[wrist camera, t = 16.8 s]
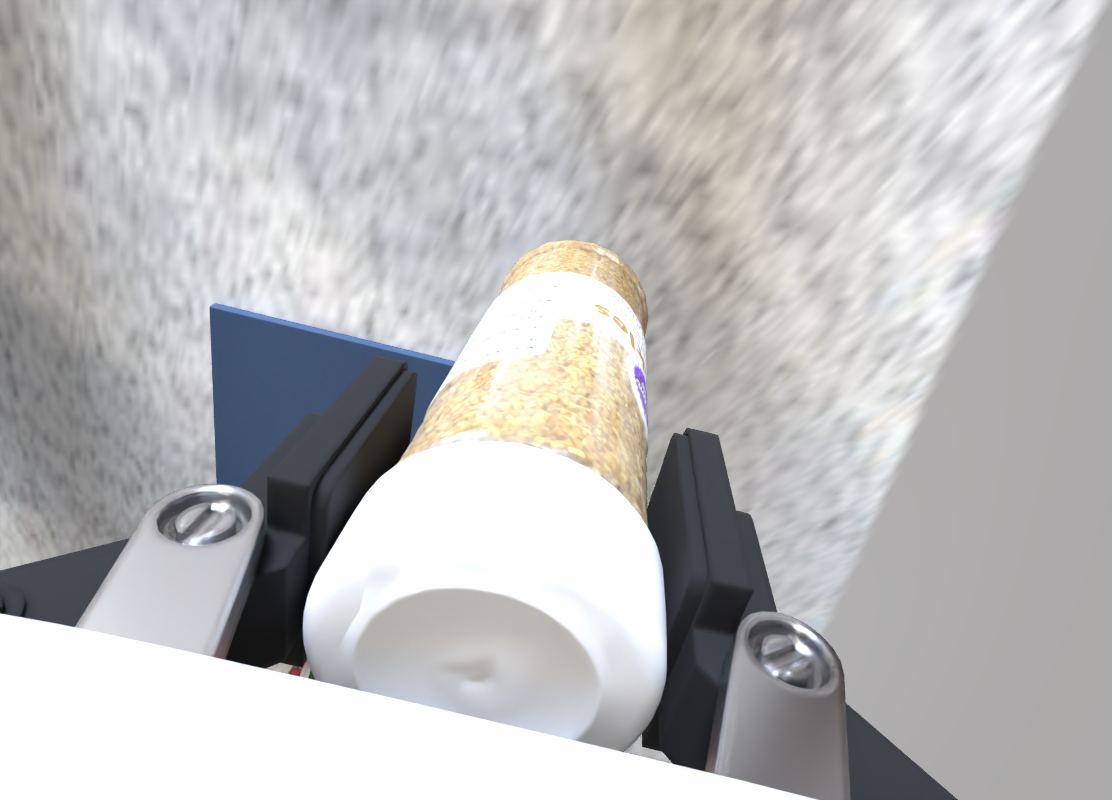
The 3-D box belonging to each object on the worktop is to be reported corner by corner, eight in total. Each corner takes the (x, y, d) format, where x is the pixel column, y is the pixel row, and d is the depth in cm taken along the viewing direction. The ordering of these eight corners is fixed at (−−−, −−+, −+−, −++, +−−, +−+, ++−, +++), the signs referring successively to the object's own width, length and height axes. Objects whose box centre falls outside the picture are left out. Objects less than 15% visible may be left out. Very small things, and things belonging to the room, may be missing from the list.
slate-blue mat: (221, 479, 34) (216, 484, 34) (215, 303, 30) (209, 306, 30) (551, 561, 34) (550, 567, 34) (595, 395, 30) (594, 400, 29)
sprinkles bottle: (670, 346, 20) (727, 767, 8) (537, 398, 21) (414, 827, 9) (609, 206, 18) (565, 474, 6) (469, 272, 19) (209, 598, 7)
